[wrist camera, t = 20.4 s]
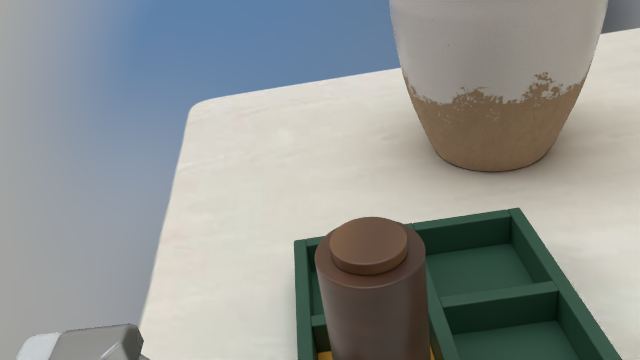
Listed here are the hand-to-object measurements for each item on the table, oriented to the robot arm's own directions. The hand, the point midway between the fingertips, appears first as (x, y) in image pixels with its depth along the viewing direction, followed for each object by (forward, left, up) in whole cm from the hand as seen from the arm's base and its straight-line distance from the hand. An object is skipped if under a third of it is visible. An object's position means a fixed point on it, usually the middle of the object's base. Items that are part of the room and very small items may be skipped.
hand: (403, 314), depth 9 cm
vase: (+14, +37, -18) cm, 43 cm away
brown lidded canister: (0, +12, -17) cm, 21 cm away
